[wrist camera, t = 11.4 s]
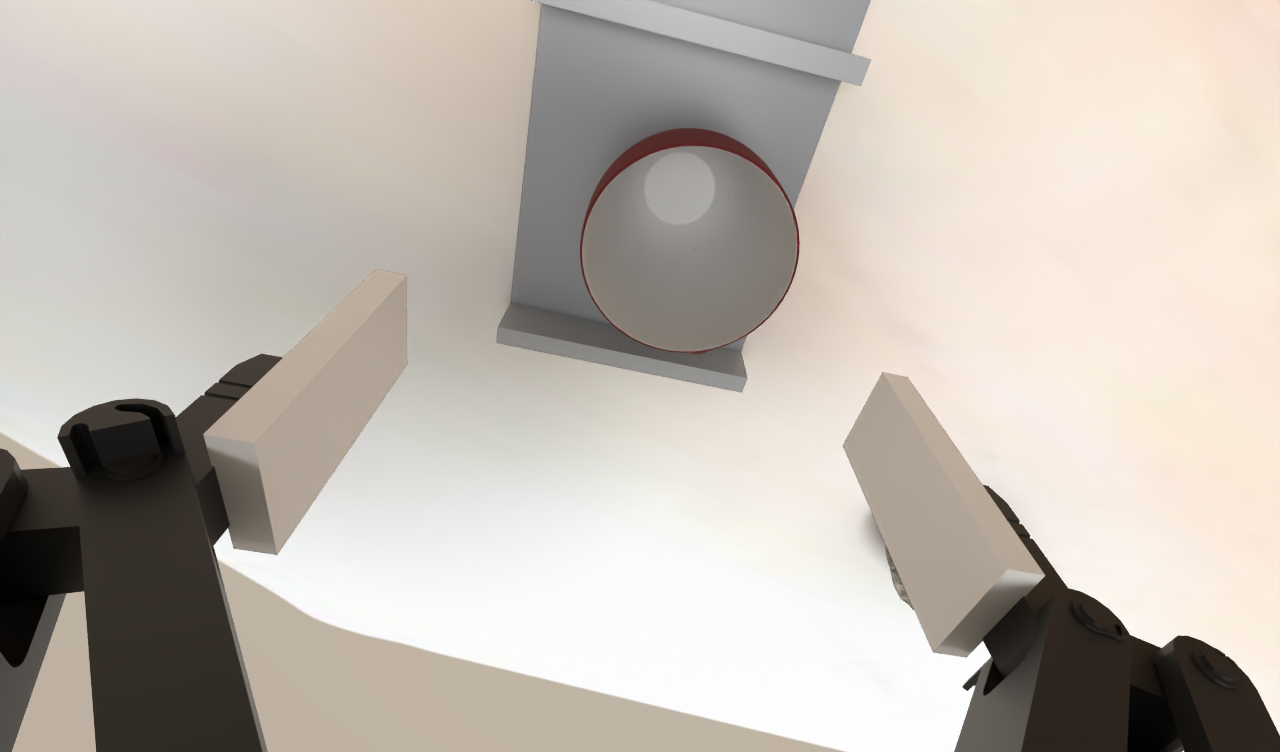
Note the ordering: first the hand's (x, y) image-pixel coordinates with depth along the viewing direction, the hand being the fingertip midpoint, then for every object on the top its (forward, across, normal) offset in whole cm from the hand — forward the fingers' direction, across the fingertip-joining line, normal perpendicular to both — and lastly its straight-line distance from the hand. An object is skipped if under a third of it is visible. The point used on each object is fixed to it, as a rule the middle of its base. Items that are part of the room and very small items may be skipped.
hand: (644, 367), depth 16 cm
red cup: (+17, +2, 0) cm, 17 cm away
